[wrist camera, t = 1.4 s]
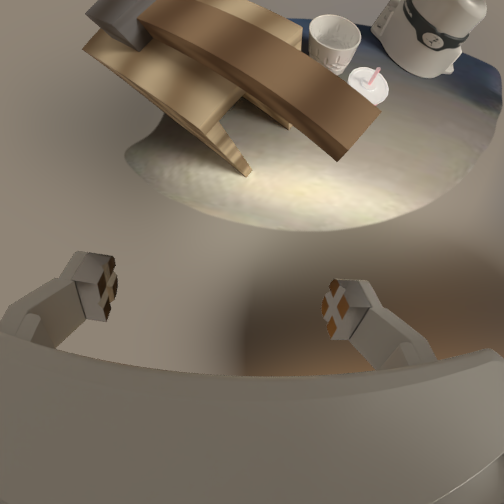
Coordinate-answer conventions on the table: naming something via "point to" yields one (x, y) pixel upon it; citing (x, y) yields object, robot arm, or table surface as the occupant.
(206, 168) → the table surface
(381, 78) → the beverage cup
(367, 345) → the robot arm
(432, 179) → the table surface
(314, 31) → the white cup
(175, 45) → the mallet
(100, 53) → the stand
